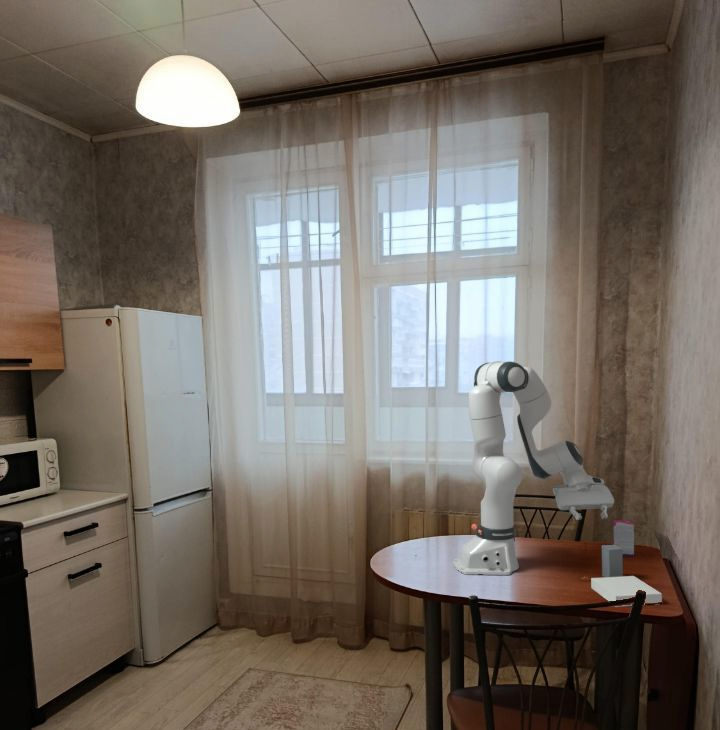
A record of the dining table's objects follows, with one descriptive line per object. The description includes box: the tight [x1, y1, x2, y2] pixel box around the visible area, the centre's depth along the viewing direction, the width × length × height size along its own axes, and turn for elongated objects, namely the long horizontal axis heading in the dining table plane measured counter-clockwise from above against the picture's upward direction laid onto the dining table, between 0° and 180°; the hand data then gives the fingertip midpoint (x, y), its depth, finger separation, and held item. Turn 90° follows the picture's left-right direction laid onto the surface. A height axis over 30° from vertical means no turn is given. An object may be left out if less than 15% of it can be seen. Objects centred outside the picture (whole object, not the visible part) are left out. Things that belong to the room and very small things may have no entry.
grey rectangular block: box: [601, 544, 624, 578], centre depth 182 cm, size 4×4×10 cm
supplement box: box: [613, 519, 635, 557], centre depth 205 cm, size 6×6×12 cm
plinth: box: [590, 575, 663, 608], centre depth 167 cm, size 14×14×3 cm
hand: (592, 518), depth 194 cm, fingers open, 8 cm apart
